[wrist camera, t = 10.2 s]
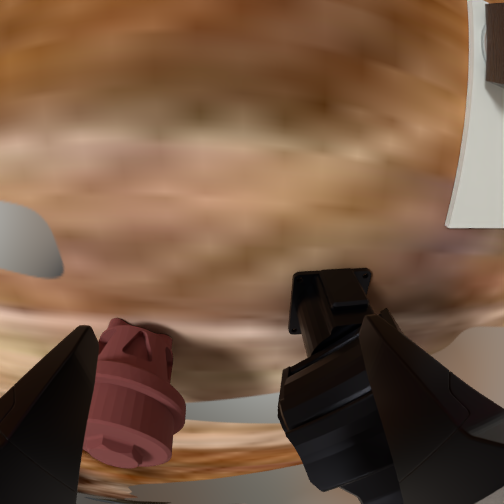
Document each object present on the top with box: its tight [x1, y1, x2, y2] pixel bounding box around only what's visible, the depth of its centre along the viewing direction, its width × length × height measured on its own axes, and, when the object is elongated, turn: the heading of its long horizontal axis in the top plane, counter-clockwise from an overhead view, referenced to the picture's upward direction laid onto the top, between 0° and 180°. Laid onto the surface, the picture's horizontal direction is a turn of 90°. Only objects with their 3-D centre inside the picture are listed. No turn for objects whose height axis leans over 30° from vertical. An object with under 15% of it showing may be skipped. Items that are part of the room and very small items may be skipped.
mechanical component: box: [83, 318, 186, 468], centre depth 22 cm, size 12×10×10 cm
